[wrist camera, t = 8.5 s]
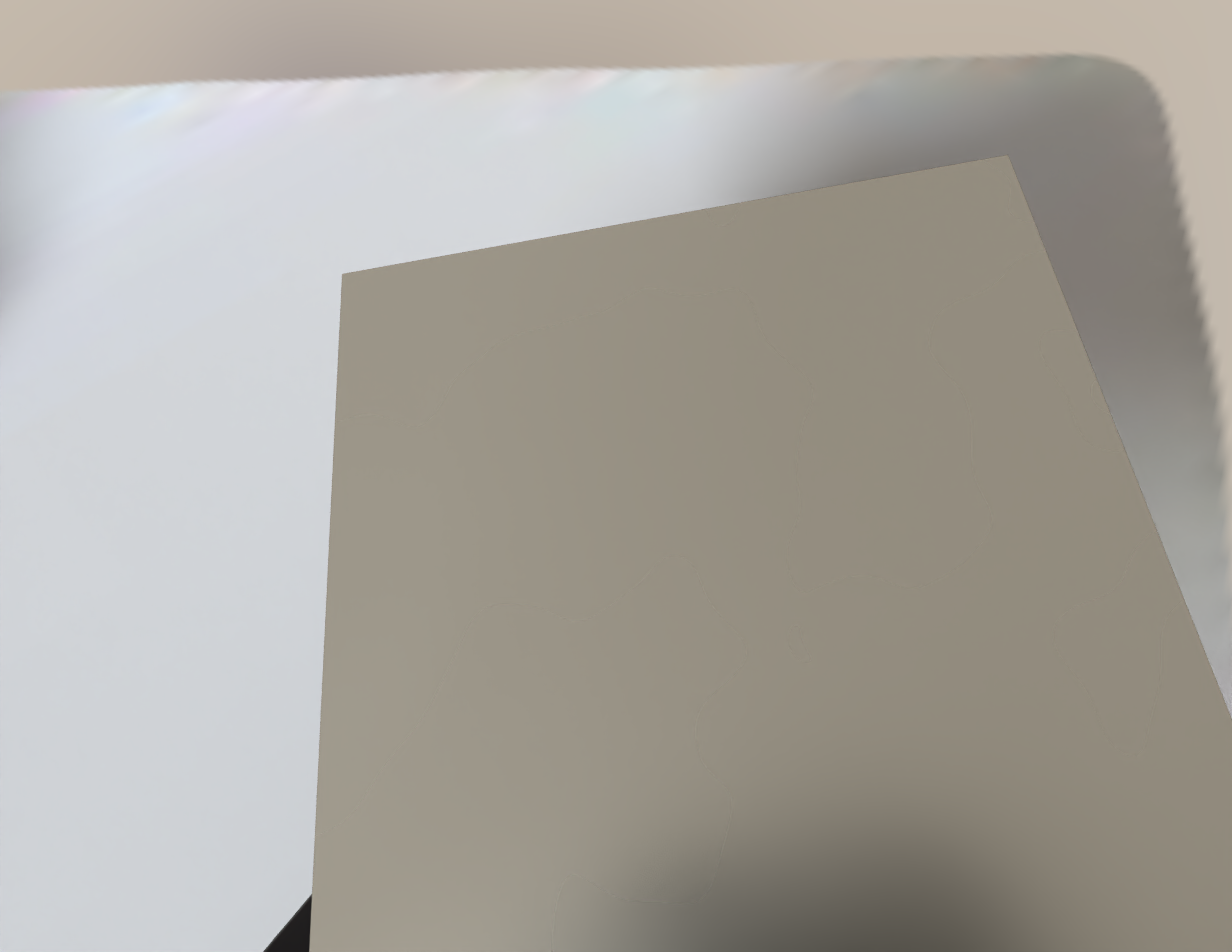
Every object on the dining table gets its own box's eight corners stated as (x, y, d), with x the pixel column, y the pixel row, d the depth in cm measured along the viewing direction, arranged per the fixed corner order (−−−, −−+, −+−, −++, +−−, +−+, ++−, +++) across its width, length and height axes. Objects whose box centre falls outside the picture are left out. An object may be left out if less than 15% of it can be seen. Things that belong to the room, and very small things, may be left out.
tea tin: (858, 800, 15) (1339, 988, 3) (620, 824, 16) (304, 1061, 4) (810, 565, 17) (1006, 155, 5) (599, 593, 18) (341, 274, 6)
